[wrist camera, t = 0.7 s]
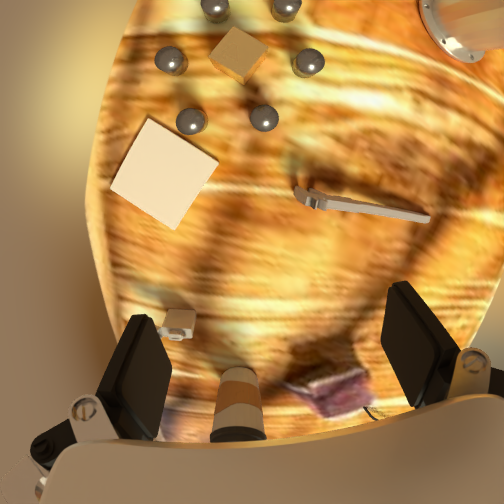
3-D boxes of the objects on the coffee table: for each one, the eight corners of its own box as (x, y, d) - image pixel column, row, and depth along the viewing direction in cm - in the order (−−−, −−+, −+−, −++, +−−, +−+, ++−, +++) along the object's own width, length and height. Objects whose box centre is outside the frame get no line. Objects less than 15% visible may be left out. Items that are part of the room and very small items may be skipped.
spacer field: (238, -23, 22) (237, -38, 19) (341, 41, 26) (353, 33, 22) (139, 101, 29) (126, 99, 25) (242, 166, 33) (241, 172, 29)
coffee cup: (241, 396, 50) (240, 465, 37) (205, 377, 48) (197, 450, 34) (273, 376, 48) (279, 449, 34) (236, 354, 45) (234, 433, 32)
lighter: (195, 310, 41) (186, 348, 34) (196, 319, 42) (188, 357, 35) (149, 307, 41) (133, 343, 34) (150, 316, 42) (136, 352, 35)
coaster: (149, 118, 30) (148, 118, 29) (219, 162, 33) (219, 163, 32) (111, 187, 33) (109, 188, 33) (175, 228, 36) (174, 230, 35)
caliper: (292, 193, 35) (301, 208, 29) (294, 184, 34) (303, 197, 28) (426, 221, 36) (450, 239, 31) (429, 214, 36) (453, 231, 30)
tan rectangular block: (235, 41, 26) (233, 26, 21) (264, 59, 27) (268, 47, 22) (214, 67, 28) (208, 56, 22) (243, 85, 29) (243, 77, 23)
